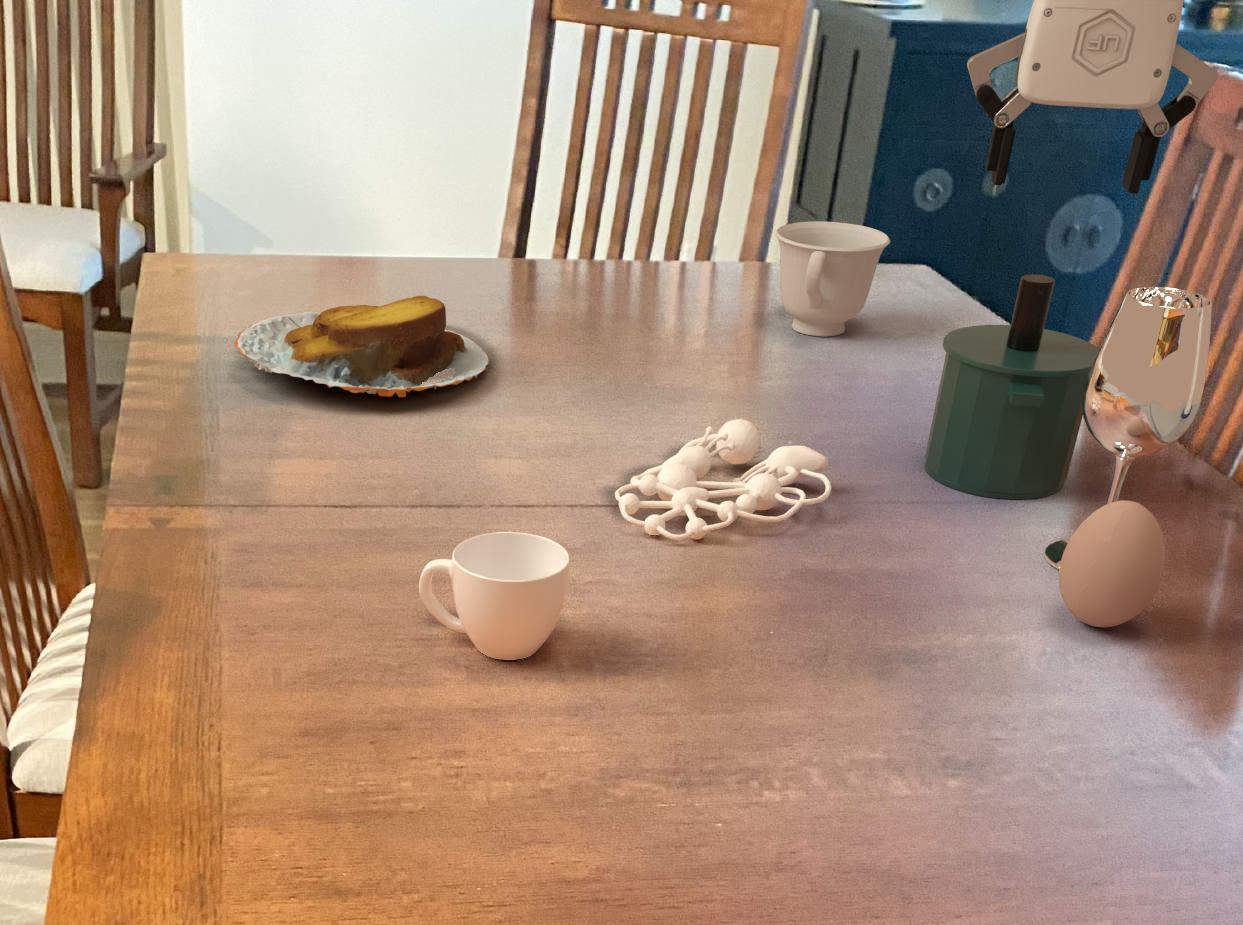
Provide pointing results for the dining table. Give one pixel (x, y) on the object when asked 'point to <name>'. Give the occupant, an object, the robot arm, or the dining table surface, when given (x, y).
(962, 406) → the pot
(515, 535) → the cup
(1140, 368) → the wineglass
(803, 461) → the tangled rod sculpture
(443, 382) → the food on plate
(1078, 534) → the egg
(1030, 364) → the lid
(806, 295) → the teacup
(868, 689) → the dining table surface
